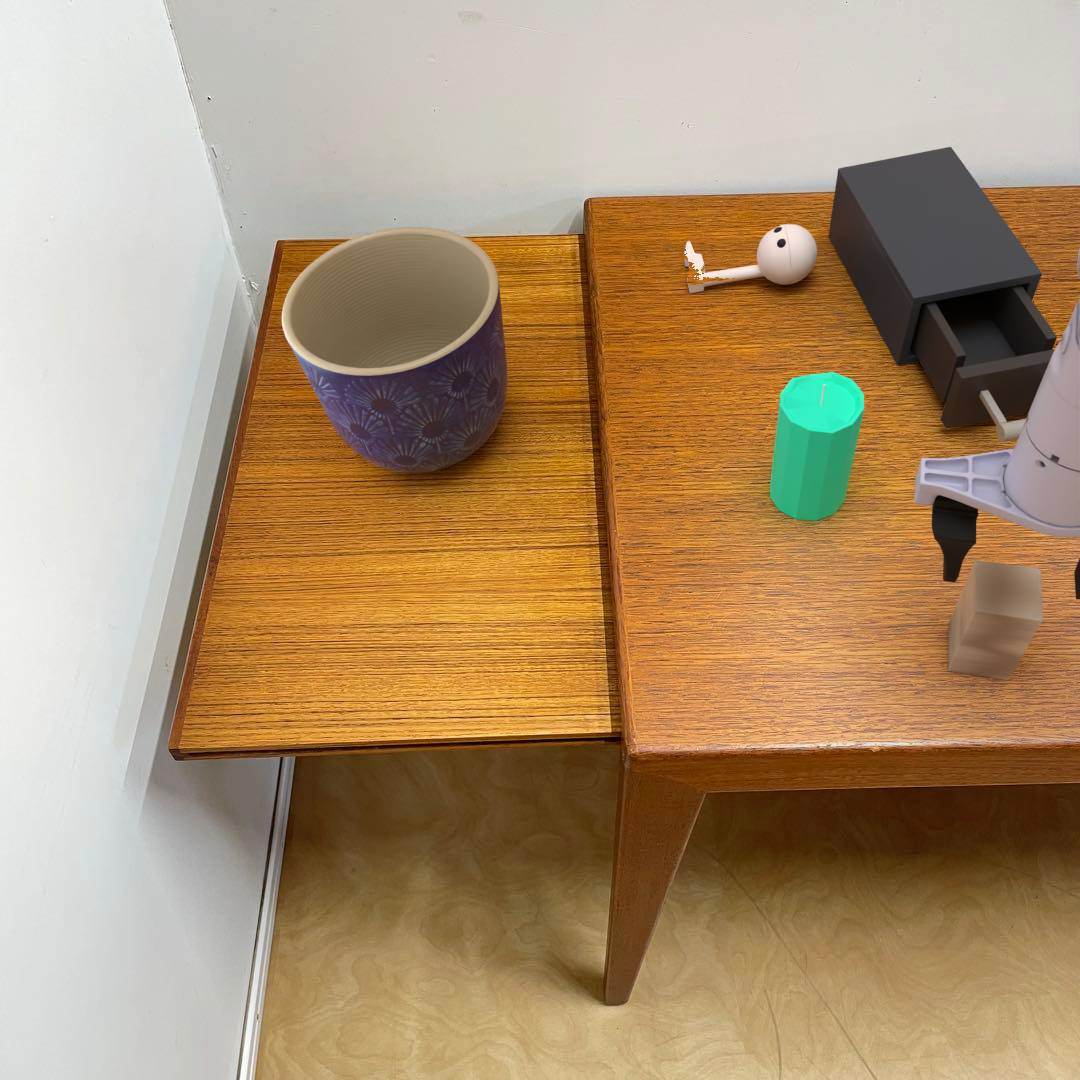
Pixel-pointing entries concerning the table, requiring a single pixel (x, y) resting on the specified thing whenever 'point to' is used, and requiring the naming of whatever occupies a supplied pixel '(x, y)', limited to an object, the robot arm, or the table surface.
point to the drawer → (984, 356)
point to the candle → (815, 444)
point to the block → (994, 619)
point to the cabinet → (921, 240)
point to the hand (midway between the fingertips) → (1014, 577)
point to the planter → (403, 345)
